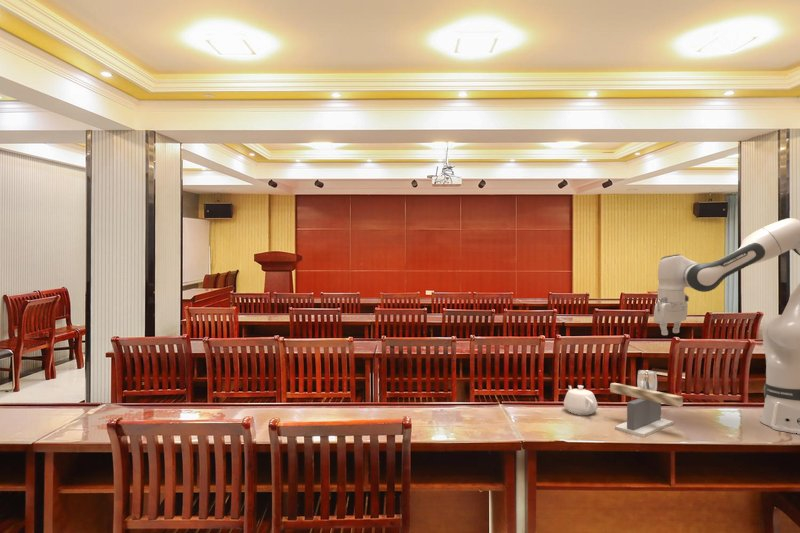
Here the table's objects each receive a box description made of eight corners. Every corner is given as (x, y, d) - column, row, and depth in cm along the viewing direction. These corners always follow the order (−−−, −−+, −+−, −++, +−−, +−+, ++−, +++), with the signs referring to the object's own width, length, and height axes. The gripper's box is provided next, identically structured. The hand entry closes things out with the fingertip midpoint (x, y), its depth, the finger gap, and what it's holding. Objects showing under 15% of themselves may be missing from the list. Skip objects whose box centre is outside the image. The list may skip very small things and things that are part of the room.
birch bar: (682, 405, 165) (682, 396, 165) (678, 407, 164) (679, 398, 164) (614, 390, 184) (614, 382, 184) (610, 391, 182) (610, 383, 182)
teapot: (554, 404, 201) (554, 379, 201) (583, 403, 202) (583, 379, 202) (576, 420, 181) (576, 392, 181) (608, 419, 182) (608, 391, 182)
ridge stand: (673, 424, 177) (673, 396, 177) (643, 437, 163) (643, 407, 163) (644, 417, 185) (645, 390, 185) (614, 429, 171) (615, 400, 171)
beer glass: (660, 412, 190) (660, 373, 190) (642, 412, 191) (642, 373, 190) (651, 407, 197) (651, 369, 197) (633, 407, 198) (634, 369, 197)
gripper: (667, 299, 177) (666, 337, 177) (690, 296, 190) (690, 332, 190) (649, 298, 182) (648, 335, 182) (673, 296, 195) (673, 330, 195)
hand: (670, 333), depth 186 cm, fingers open, 8 cm apart
